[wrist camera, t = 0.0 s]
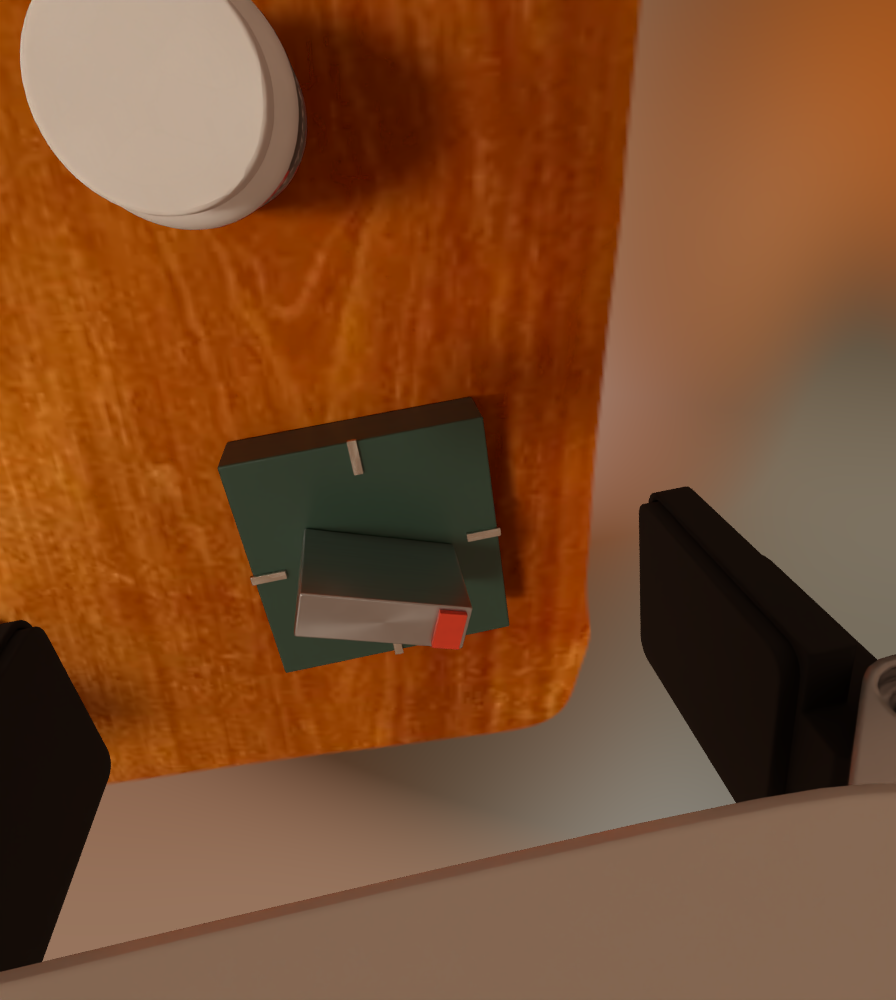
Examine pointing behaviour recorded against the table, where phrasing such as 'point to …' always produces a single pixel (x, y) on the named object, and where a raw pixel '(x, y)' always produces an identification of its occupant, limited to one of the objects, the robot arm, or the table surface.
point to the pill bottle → (166, 104)
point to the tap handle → (380, 590)
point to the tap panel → (366, 508)
